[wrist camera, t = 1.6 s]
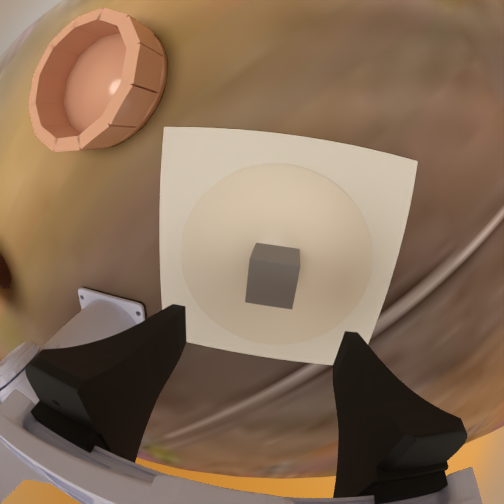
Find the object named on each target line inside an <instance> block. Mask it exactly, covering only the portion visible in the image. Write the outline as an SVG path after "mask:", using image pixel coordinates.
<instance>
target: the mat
mask: <svg viewBox="0 0 504 504" xmlns="http://www.w3.org/2000/svg"><path fill="white" fill-rule="evenodd" d="M417 163H418V161H415V160H411V159H408V158H404V157H400V156H396V155H393V154H389V153H385V152H380V151H376V150H372V149H367V148H363V147H358V146H354V145H349V144H344V143H338V142H333V141H327V140H321V139H315V138H309V137H302V136H295V135H288V134H280V133H271V132H262V131H251V130H239V129H224V128H202V127H164V134H163V147H162V162H161V182H160V278H161V298H162V310H163V309H165V308H166V307H168V306H170V305H172V304H176V305H181V306H185V309H186V342H189V343H194V344H198V345H203V346H208V347H212V348H217V349H222V350H227V351H233V352H238V353H244V354H250V355H256V356H262V357H269V358H275V359H282V360H290V361H298V362H306V363H316V364H326V365H333V363H334V361H335V358H336V355H337V352H338V350H339V347H340V344H341V341H342V338H343V335H344V332H345V331H349V332H358V333H359V335H360V336H361V337H362V338H363V339H364V341H365V342H366V343H367V344H368V343H369V340H370V338H371V335H372V333H373V330H374V328H375V325H376V322H377V320H378V317H379V314H380V311H381V309H382V306H383V303H384V300H385V297H386V294H387V291H388V288H389V285H390V281H391V278H392V275H393V272H394V268H395V265H396V261H397V258H398V254H399V250H400V247H401V243H402V239H403V235H404V231H405V226H406V222H407V218H408V213H409V208H410V203H411V198H412V193H413V188H414V182H415V176H416V170H417ZM262 164H289V165H294V166H298V167H303V168H306V169H308V170H311V171H314V172H316V173H318V174H320V175H322V176H324V177H326V178H328V179H329V180H330V181H332V182H333V183H335V184H336V185H337V186H339V187H340V188H341V189H342V190H343V191H344V192H345V193H346V194H347V195H348V196H349V197H350V198H351V199H352V200H353V202H354V203H355V204H356V206H357V207H358V209H359V210H360V212H361V214H362V216H363V217H364V219H365V222H366V224H367V227H368V229H369V233H370V237H371V242H372V251H373V262H372V271H371V275H370V280H369V283H368V285H367V288H366V291H365V293H364V295H363V297H362V299H361V300H360V302H359V303H358V305H357V306H356V308H355V309H354V310H353V311H352V313H351V314H350V315H349V316H348V317H347V318H346V319H345V320H344V321H342V322H341V323H340V324H339V325H338V326H336V327H335V328H333V329H332V330H330V331H329V332H327V333H325V334H323V335H321V336H319V337H316V338H313V339H311V340H308V341H304V342H300V343H294V344H286V345H272V344H263V343H258V342H253V341H250V340H247V339H244V338H241V337H239V336H236V335H234V334H232V333H230V332H229V331H227V330H225V329H223V328H222V327H220V326H219V325H218V324H216V323H215V322H214V321H213V320H212V319H210V318H209V317H208V316H207V315H206V314H205V313H204V311H203V310H202V309H201V308H200V307H199V305H198V304H197V303H196V301H195V300H194V298H193V296H192V295H191V293H190V291H189V289H188V287H187V284H186V281H185V278H184V275H183V271H182V266H181V255H180V249H181V238H182V234H183V229H184V226H185V224H186V221H187V218H188V216H189V214H190V212H191V211H192V209H193V207H194V205H195V204H196V203H197V201H198V200H199V199H200V197H201V196H202V195H203V194H204V193H205V192H206V191H207V190H208V189H209V188H210V187H211V186H213V185H214V184H215V183H217V182H218V181H219V180H221V179H223V178H224V177H226V176H228V175H230V174H232V173H234V172H236V171H239V170H242V169H245V168H247V167H252V166H257V165H262Z"/></svg>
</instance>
